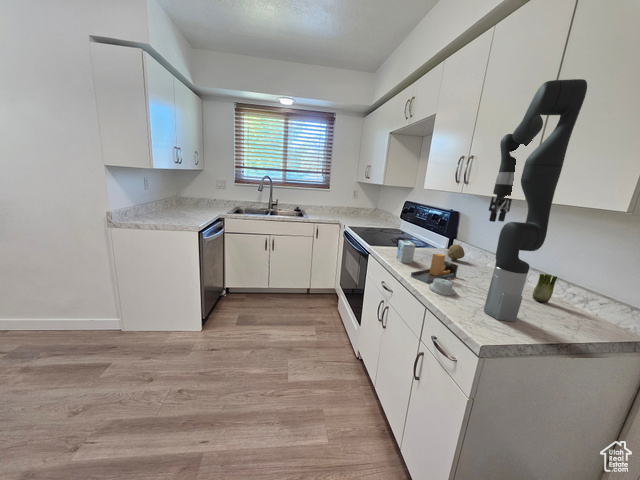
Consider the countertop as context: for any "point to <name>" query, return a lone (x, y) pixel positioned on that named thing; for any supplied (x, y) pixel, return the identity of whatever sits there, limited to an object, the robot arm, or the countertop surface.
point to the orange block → (438, 265)
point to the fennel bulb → (544, 288)
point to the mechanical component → (442, 287)
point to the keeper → (450, 267)
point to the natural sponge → (456, 252)
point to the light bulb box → (405, 251)
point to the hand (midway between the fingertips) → (496, 221)
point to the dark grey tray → (429, 276)
